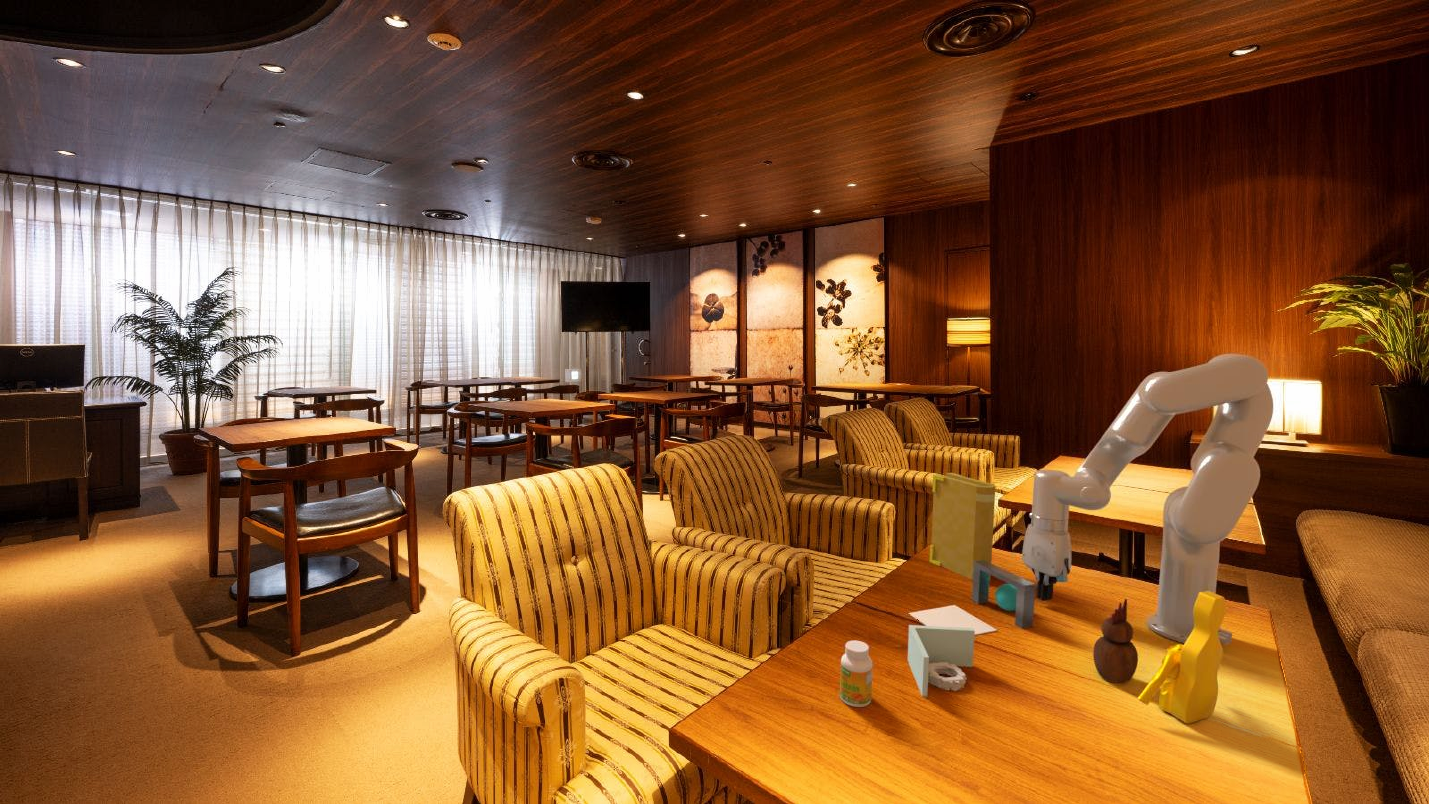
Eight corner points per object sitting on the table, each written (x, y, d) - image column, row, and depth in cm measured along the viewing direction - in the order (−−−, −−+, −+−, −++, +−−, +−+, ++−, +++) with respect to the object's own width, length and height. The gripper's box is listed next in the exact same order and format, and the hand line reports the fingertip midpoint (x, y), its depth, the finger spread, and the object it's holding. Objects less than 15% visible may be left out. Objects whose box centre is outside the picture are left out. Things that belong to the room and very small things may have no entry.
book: (929, 561, 171) (933, 474, 169) (947, 558, 174) (951, 472, 172) (977, 583, 156) (982, 488, 154) (996, 579, 159) (1001, 485, 156)
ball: (1002, 609, 137) (1020, 620, 139) (1016, 586, 137) (1034, 597, 139) (984, 596, 143) (1001, 607, 144) (998, 575, 143) (1015, 586, 144)
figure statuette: (1195, 691, 109) (1206, 573, 106) (1246, 717, 101) (1259, 590, 99) (1125, 712, 102) (1135, 586, 100) (1173, 741, 95) (1185, 606, 93)
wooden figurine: (1120, 669, 116) (1126, 593, 114) (1142, 686, 110) (1149, 607, 108) (1085, 669, 116) (1091, 594, 114) (1106, 687, 110) (1112, 607, 108)
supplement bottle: (834, 700, 106) (835, 647, 105) (848, 686, 110) (849, 635, 109) (863, 712, 102) (865, 657, 101) (876, 697, 106) (878, 644, 105)
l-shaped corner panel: (922, 697, 107) (923, 657, 106) (907, 661, 119) (909, 625, 118) (992, 701, 106) (995, 661, 105) (971, 665, 118) (972, 628, 117)
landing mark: (996, 630, 131) (997, 630, 131) (947, 640, 126) (947, 639, 126) (954, 605, 143) (954, 605, 143) (908, 613, 139) (908, 613, 139)
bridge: (981, 598, 147) (983, 560, 146) (1032, 626, 133) (1035, 583, 132) (971, 600, 146) (973, 561, 145) (1022, 628, 132) (1024, 585, 131)
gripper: (1011, 515, 147) (1007, 588, 149) (1065, 534, 133) (1059, 614, 135) (1035, 513, 150) (1030, 584, 152) (1090, 531, 136) (1084, 609, 138)
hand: (1044, 598), depth 144 cm, fingers closed
